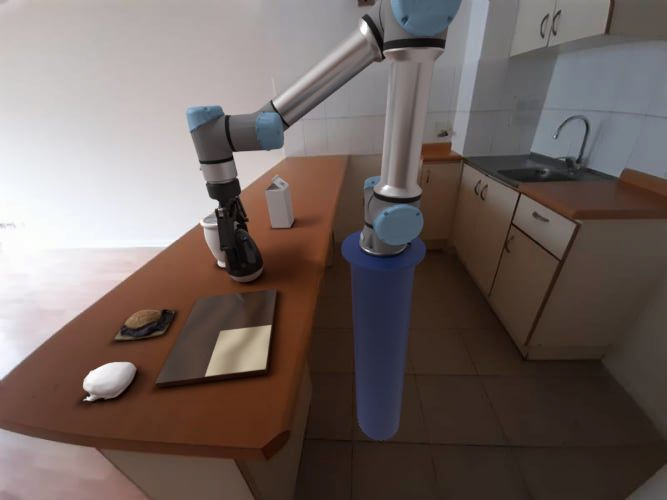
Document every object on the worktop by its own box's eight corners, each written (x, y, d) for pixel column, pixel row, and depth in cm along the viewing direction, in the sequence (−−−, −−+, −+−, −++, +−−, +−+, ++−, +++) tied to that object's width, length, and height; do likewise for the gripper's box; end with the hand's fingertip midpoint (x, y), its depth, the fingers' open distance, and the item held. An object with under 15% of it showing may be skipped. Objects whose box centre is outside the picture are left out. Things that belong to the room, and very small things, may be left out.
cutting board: (277, 293, 72) (276, 288, 72) (267, 374, 52) (265, 368, 51) (199, 301, 71) (197, 296, 71) (157, 388, 51) (154, 382, 50)
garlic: (78, 404, 49) (66, 391, 47) (103, 370, 55) (94, 357, 53) (124, 400, 49) (114, 387, 47) (144, 366, 55) (136, 354, 53)
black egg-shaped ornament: (243, 292, 73) (228, 242, 66) (223, 279, 80) (207, 231, 72) (273, 274, 80) (263, 226, 72) (252, 263, 86) (241, 218, 78)
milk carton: (272, 228, 107) (262, 179, 97) (277, 220, 113) (268, 174, 103) (289, 228, 106) (282, 179, 96) (294, 220, 112) (287, 173, 102)
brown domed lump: (113, 343, 61) (105, 332, 59) (133, 316, 68) (126, 305, 66) (162, 337, 62) (156, 325, 60) (177, 311, 69) (171, 299, 67)
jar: (217, 255, 92) (203, 213, 84) (249, 250, 93) (238, 208, 86) (212, 272, 83) (195, 227, 75) (247, 267, 84) (235, 222, 77)
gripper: (219, 167, 76) (237, 236, 87) (186, 198, 54) (215, 284, 65) (247, 165, 76) (261, 234, 87) (225, 195, 55) (247, 281, 66)
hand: (241, 255), depth 76 cm, fingers open, 13 cm apart
